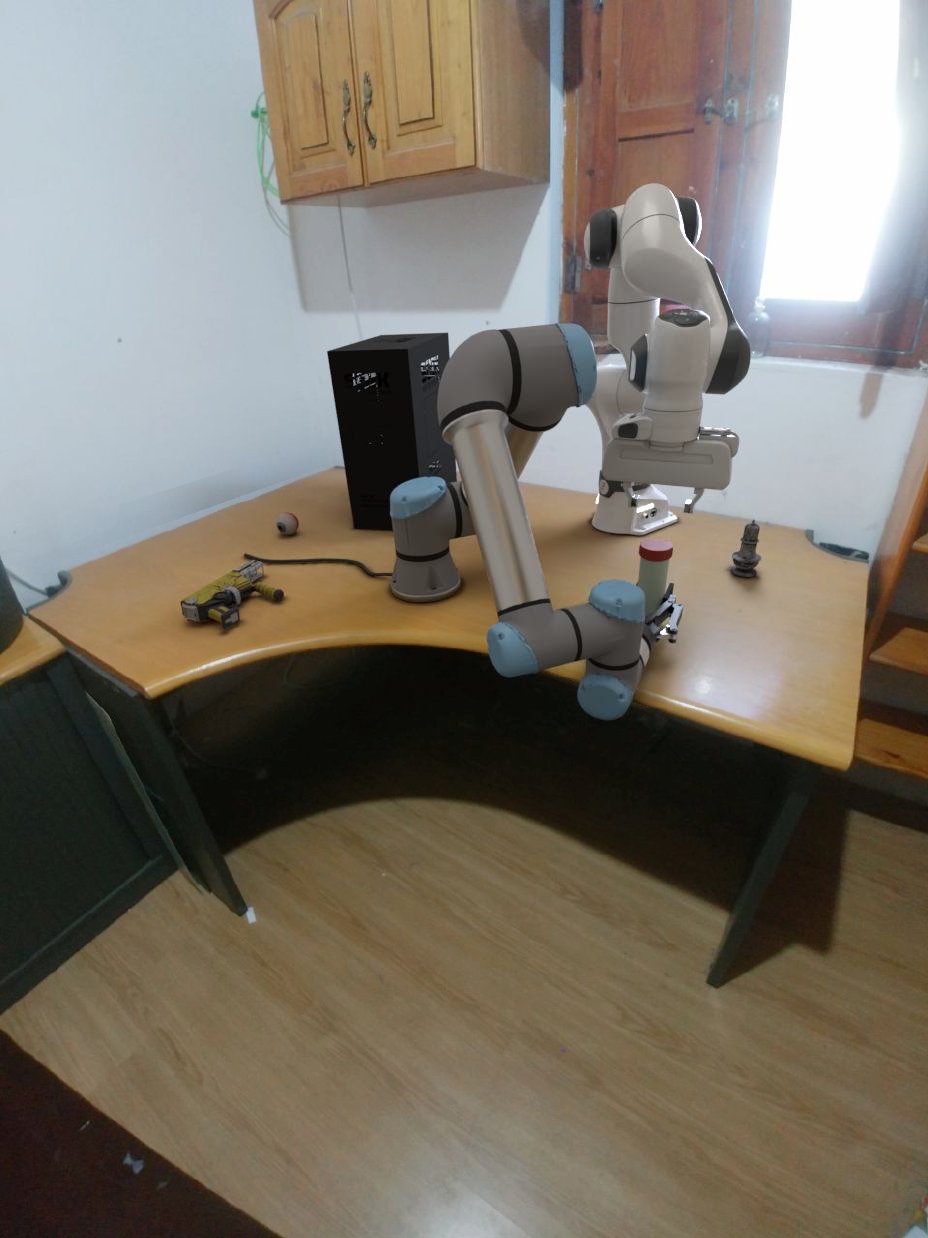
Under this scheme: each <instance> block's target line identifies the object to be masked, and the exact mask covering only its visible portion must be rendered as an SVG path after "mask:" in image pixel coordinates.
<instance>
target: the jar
mask: <svg viewBox="0 0 928 1238" xmlns="http://www.w3.org/2000/svg"><path fill="white" fill-rule="evenodd" d="M669 565H670V559H668V560H665V561H650V560H646V559H643V558H642V557H641V556H640V560H639V570H638V578H637V582H638V587H639V588H641V589H642V591H643V592H644V595H645V617H646V616H647V615H649V614H650V613H651V614H652V613H653V612H654V611H656V610H657V609H658V608H659V607H660V606H661V605H662V603H663V597H664V595H665V593H666V589H667V580H668V572H669ZM661 626H662V624H661V625H659V626H658V628H659V629H660V630H661Z"/></svg>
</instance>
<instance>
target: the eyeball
mask: <svg viewBox="0 0 928 1238" xmlns="http://www.w3.org/2000/svg"><path fill="white" fill-rule="evenodd" d="M299 525H300V522H299V519H298V517H297V516H296V515H295V514H294V513H292V512H287V511H286V512H282V513H280V514H279V515H278V516H277V517H276V520H275V527H276V529H277V530H278V531H279V532H280V533H281V534H282V535H285V536H286V535H287V536H289V535H293V534H295V533H296V532H297V531H298V529H299Z"/></svg>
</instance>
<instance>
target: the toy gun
mask: <svg viewBox="0 0 928 1238" xmlns="http://www.w3.org/2000/svg"><path fill="white" fill-rule="evenodd" d="M260 569H261V571H262V572H258V570H260ZM264 575H265V571H264V564H263V562H261V561H257V560H254V559H251V560H250V561H248V562H247V563H244V565H242V566H239V567H238V568H237V569H233V570H231V571H229V572H228V573H226V574H224V575H222V576H220V577H219V578H217V579H216V580H214V581H212V582H211V583H209V584H207V585H205V586H204V587H202V588H200V589H198V590H196V591H195V592H193V593H191V594H190V595H188V596H186V597H184V598H183V599H182V600H181V601H180V602H179V603H180V607H181V613H182V616H183V617H184V618H185V619H186V620H187V622H189V623H190V622H191V623H196V622H198V623H203V622H208V621H212V620H214V621H216V622H219V623H221V625H222V626H221V627H222V630H223V629H224V630H227V629H228V628H230V627H232V626H234V625H236V624H238V623H240V622H241V617H240V616H241V615H240V609H239V605H241V602H242V599H244V598H245V597H247V596H250V595H252V594H253V593H254V592H255V593H258V594H260V595H262V596H263V595H264V597H268V598H270V599H273V600H274V601H277V602H279V601H281V600H283V599H284V597H285V593H284V591H283V590H282V589H281V588H275V587H274V586H271V585H268V584H266V583H263V582H260V581H258V582H256V583H255V584H254V585H253V584H252V583H254V582H255V581H257V580H258V579H260V578H261V577H264Z"/></svg>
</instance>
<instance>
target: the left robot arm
mask: <svg viewBox="0 0 928 1238" xmlns="http://www.w3.org/2000/svg"><path fill="white" fill-rule="evenodd" d="M597 366H598V364H597V355H596V352H595V348H594V344H593V341H592V339H591V337H590V335H589V334H588V332H587V331H586V330H585V328H583V327H582V325H580V324H576V323H559V322H555V323H551V324H539V325H529V326H520V327H519V326H518V327H510V328H501V329H496V328H495V329H485V330H482V331H479V332H476V333H474V334H472V335H470V336H469V337H467V338H466V339H464V340H463V341H462V343H460V344H459V345H458V346H457V347H456V349H455V350H454V352H453V353H452V354H451V356H450V359H449V361H448V362H447V364H446V366H445V369H444V371H443V374H442V377H441V381H440V385H439V390H438V398H437V411H438V420H439V425H440V429H441V432H442V436H443V439H444V441H445V442H446V443H448V444H450V445H452V446H453V450H454V454H455V458H456V466H457V468H458V472H459V477H460V481H459V480H457V482H452V483H447V484H446V483H445V481H444V480H443V479H442V478H439V477H428V478H427V477H421V478H416V479H412V480H409V481H407V482H404V483H402V484H400V485H399V486H397V487H396V488H395V489H394V490H393V491H392V493H391V496H390V516H391V518H392V526H393V530H392V535H393V543H394V551H395V560H394V561H395V562H394V565H393V570H392V572H375V571H370V569H369V568H367V566H366V564H364V563H362V562H360V561H358V560H354V559H350V558H334V557H333V558H332V557H331V558H329V557H325V558H324V557H319V558H299V559H297V558H296V559H294V558H293V559H291V558H290V559H268V558H262V557H259V556H258V557H257V556H256V555H255V556H254V555H252V554H249V553H246V552H245V553H244V554H243V556H244V557H246V558H247V559H251V560H255V561H256V562H257V561H260V562H262V563H270V564H293V563H294V564H296V563H297V564H298V563H300V564H301V563H321V562H325V563H329V562H330V563H349V564H353V565H356V566H359V567H361V568H362V570H363V571H364V573H367V575H370V576H372V577H391V578H390V586H391V593H392V594H393V595H394V596H395V597H396V598H398V599H399V600H402V601H405V602H411V603H432V602H437V601H438V602H439V601H441V600H444V599H447V598H449V597H451V596H453V595H454V594H456V593H457V592H458V591H459V589H460V588H461V576H460V572H459V569H458V568H457V565H456V563H455V561H454V559H453V556H452V554H451V548H450V541H451V540H455V539H460V538H461V539H462V538H467V537H472V536H476V540H477V543H478V548H479V551H480V554H481V555H480V556H481V558H482V562H483V566H484V570H485V574H486V578H487V580H488V584H489V588H490V592H491V596H492V599H493V603H494V607H495V610H496V614H497V618H498V619H497V620H498V621H497V623H494V624H491V625H490V627H488V629H487V631H486V642H487V652H488V656H489V659H490V662H491V664H492V666H493V667H494V669H495V671H496V672H497V673H498V674H499V675H501V676H502V677H505V678H508V679H511V678H514V677H521V676H524V675H530V674H532V675H534V674H537V673H538V672H541V671H546V670H548V669H552V668H555V667H556V668H557V667H560V666H563V665H568V664H570V663H577V662H579V661H580V662H581V661H584V660H585V671H584V675H583V677H581V679H580V681H579V686H578V688H577V692H576V694H577V695H576V697H577V698H576V699H577V701H578V703H579V706H580V707H581V709H582V710H583V711H584V712H585V713H586V714H588V715H589V716H591V717H593V718H595V719H598V720H601V721H614V720H617V719H619V718H621V717H623V716H624V715H625V713H626V712H627V711H628V709H629V707H630V705H631V704H632V703H633V701H634V695H635V693H636V691H637V688H638V685H639V683H640V680H641V677H642V675H643V672H644V670H645V669H646V666H647V663H648V662H649V658H650V657H651V655H652V652H653V649H654V647H655V644H657V643H658V642H660V641H661V640H667V641H668V643H670V644H676V643H677V638H678V632H679V631H678V630H679V629H678V628H679V625H680V623H681V621H682V618H683V610H684V604H683V603H680V602H678V603H676V601H677V595H676V594H674V586H675V583H674V582H669V584H668V586H667V587H666V589H665V595H664V597H663V603H662V605H661V606H660V607H659V608H658V609H657V610H656V611H654V612H653V613H652V614H651V613H650V614H649V615H647V616H646V617H645V595H644V592H643V591H642V589H641V588H639V587H638V581H637V582H636V583H633V582H631V581H627V580H622V579H605V580H601V581H599V582H597V584H594V585H593V586H592V587H591V589H590V592H589V596H588V599H587V600H588V602H586V603H581V604H576V605H573V606H568V607H564V608H557V609H554V606H553V604H552V601H551V598H550V593H549V590H548V589H549V588H548V586H547V583H546V579H545V574H544V571H543V567H542V563H541V560H540V557H539V552H538V549H537V546H536V542H535V538H534V534H533V531H532V527H531V524H530V520H529V516H528V512H527V509H526V506H525V502H524V497H523V494H522V491H521V487H520V483H519V479H520V478H521V475H522V474H523V471H524V470H525V468H526V466H527V464H528V462H529V461H530V458H531V457H532V455H533V453H534V451H535V450H536V447H537V446H538V443H539V442H540V440H541V438H542V437H543V435H544V433H546V432H548V431H551V430H552V429H554V428H555V427H557V426H558V425H559V424H560V422H561V421H562V419H563V418H564V416H565V415H566V412H567V411H568V409H570V408H573V407H575V408H581V406H586V405H585V404H587V403H589V402H590V400H591V399H592V397H593V395H594V392H595V389H596V383H597ZM668 618H669V620H668V623H667V625H665V627H664V628H663V630H661V628H660V629H659V628H658V626H659V625H661V626H662V624H663V623H664V622H665V621H666V620H667V619H668Z"/></svg>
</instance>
